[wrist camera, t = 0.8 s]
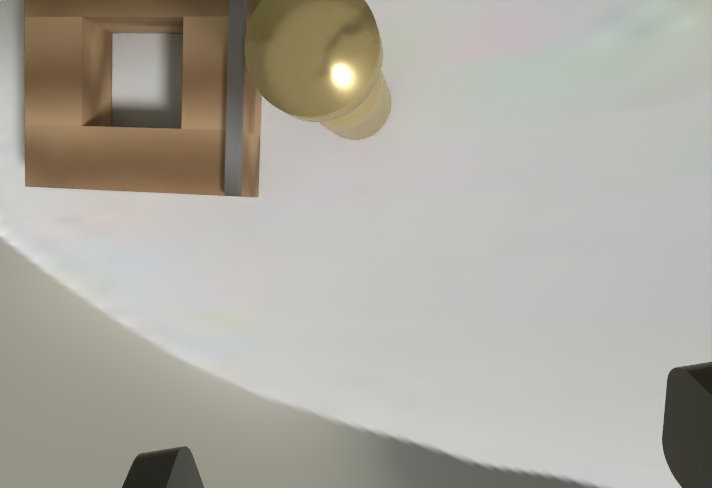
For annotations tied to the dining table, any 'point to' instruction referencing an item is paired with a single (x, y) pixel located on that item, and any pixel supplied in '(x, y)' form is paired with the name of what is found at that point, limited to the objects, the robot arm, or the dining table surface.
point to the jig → (131, 144)
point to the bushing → (320, 63)
